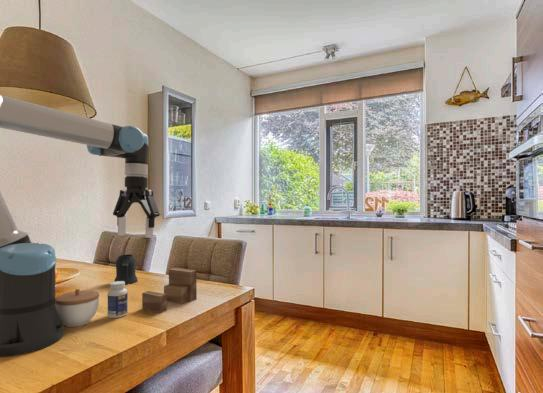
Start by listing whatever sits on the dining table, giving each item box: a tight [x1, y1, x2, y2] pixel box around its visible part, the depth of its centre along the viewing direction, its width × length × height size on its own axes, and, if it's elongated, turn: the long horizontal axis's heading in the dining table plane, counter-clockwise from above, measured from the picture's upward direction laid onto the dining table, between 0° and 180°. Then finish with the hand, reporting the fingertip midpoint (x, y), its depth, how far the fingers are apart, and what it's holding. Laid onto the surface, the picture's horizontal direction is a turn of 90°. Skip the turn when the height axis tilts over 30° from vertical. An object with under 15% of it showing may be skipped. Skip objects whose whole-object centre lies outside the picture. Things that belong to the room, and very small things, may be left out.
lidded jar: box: [55, 288, 100, 328], centre depth 89 cm, size 11×11×9 cm
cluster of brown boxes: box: [141, 267, 198, 314], centre depth 105 cm, size 15×10×10 cm, turn 153°
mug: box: [113, 253, 138, 286], centre depth 132 cm, size 12×9×11 cm
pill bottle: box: [107, 281, 128, 319], centre depth 95 cm, size 5×5×10 cm
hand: (135, 236), depth 112 cm, fingers open, 13 cm apart
